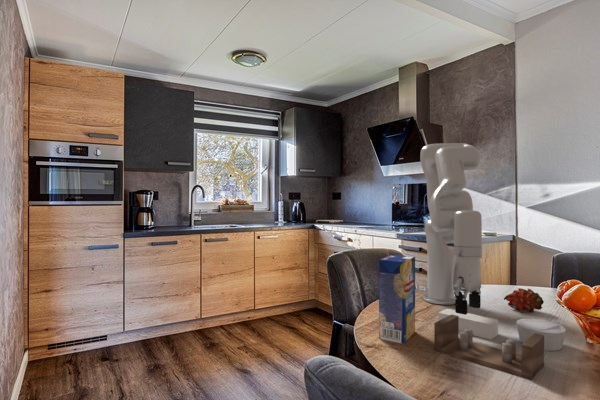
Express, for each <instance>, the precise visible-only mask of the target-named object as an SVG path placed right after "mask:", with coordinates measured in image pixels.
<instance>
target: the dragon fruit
mask: <svg viewBox="0 0 600 400" xmlns="http://www.w3.org/2000/svg"><path fill="white" fill-rule="evenodd" d="M503 300H506V301H507V302H508V303H507V306H509V307H510V308H512V309H516V310H517V311H520V312H521V313H525V312H529V313H534V310H537V311H539V310H540V311H541V309H543V306H542V305H543V304H544V302H545V301H544V300H543V297H541V295H540V294H539V293H538V292H534V291H533V290H532V289H531V288H527V290H526V289H524V288H517V290H513V291H512V292H511V293H509V294H507V295H505V296H504V297H503Z"/></svg>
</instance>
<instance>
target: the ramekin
mask: <svg viewBox="0 0 600 400" xmlns="http://www.w3.org/2000/svg"><path fill="white" fill-rule="evenodd" d="M515 326H516V327H517V333H518V338H519V341H520V342H521V343H522V344H523V343H524V342H525V341H526V340H528V339H529V338H530V337H531V336H532V335H533V334H534V333H536V334H540V335H544V352H556V351H560V350H561V349H562V348H563V345H564V340H565V336H566V334H567V330H566V328H565V327H564V326H562V325H560V324H558V323H555V322H554V321H553V322H552V321H548V320H545V319H538V318H521V319H517V321H516V323H515Z"/></svg>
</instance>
